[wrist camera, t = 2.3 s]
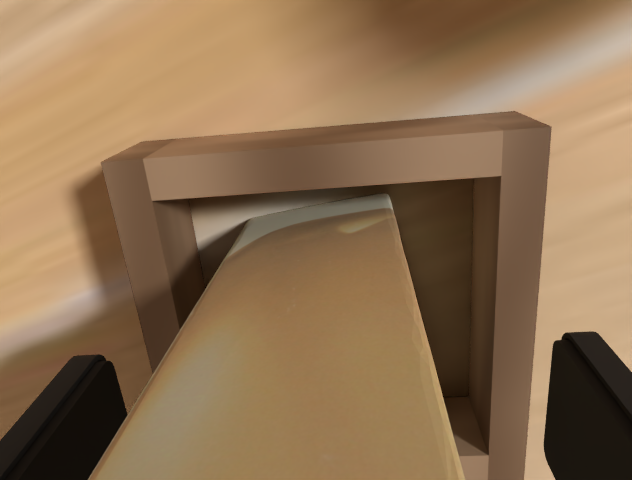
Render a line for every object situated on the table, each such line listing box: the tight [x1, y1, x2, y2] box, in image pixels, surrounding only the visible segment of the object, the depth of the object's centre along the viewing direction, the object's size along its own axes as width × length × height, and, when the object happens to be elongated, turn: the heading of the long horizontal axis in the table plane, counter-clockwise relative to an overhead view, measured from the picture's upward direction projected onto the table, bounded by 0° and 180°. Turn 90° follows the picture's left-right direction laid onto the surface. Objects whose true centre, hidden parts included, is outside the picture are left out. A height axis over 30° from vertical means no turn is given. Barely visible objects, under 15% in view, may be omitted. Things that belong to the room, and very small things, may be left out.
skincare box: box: [88, 193, 465, 480], centre depth 10 cm, size 6×4×12 cm
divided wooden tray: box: [101, 111, 551, 480], centre depth 16 cm, size 10×19×2 cm, turn 5°
